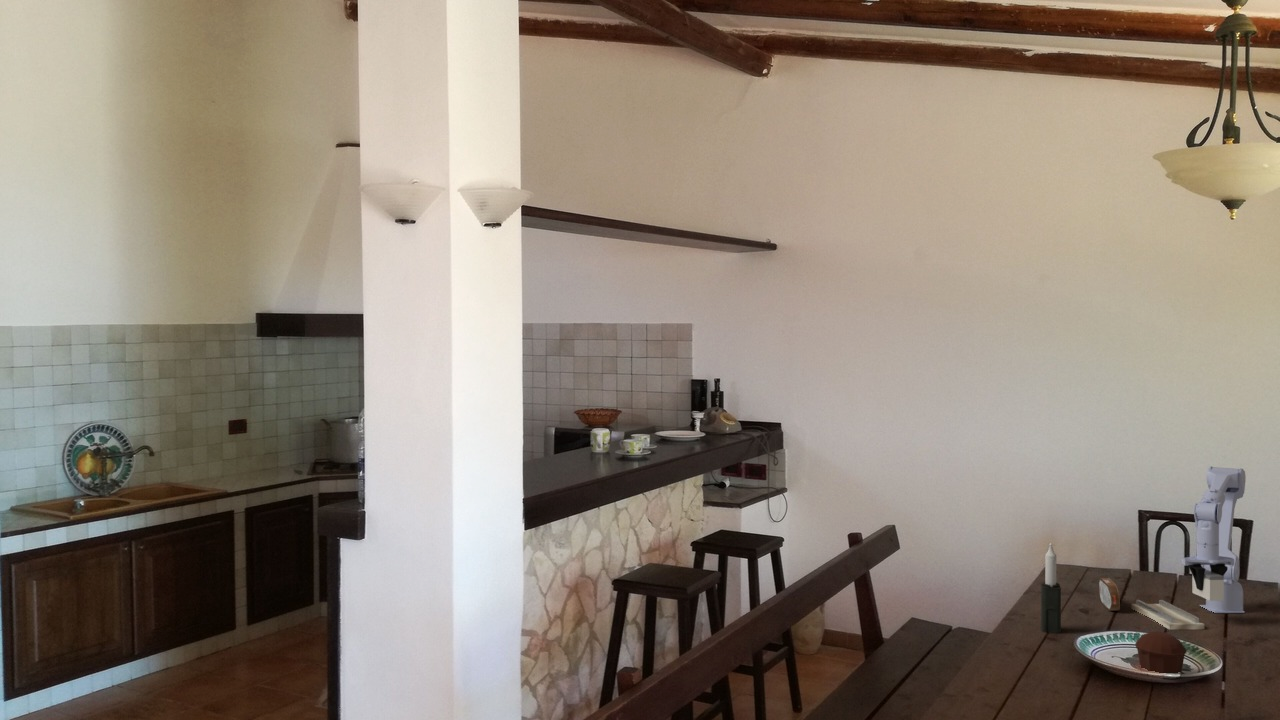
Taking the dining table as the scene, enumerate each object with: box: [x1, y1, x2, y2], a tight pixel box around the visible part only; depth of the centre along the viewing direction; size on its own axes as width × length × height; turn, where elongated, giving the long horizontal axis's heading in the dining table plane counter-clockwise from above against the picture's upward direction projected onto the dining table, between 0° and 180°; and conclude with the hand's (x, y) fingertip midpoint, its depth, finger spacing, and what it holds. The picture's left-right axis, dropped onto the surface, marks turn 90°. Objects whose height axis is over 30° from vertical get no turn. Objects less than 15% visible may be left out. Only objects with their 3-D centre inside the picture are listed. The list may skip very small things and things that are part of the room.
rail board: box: [1131, 599, 1205, 631], centre depth 295 cm, size 10×22×3 cm, turn 0°
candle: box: [1040, 542, 1062, 634], centre depth 284 cm, size 5×5×25 cm
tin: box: [1098, 577, 1121, 612], centre depth 308 cm, size 15×3×8 cm, turn 168°
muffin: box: [1135, 630, 1187, 673], centre depth 247 cm, size 12×11×10 cm
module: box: [1191, 570, 1224, 601], centre depth 292 cm, size 4×9×7 cm, turn 0°
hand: (1207, 589), depth 292 cm, fingers closed on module, 4 cm apart
